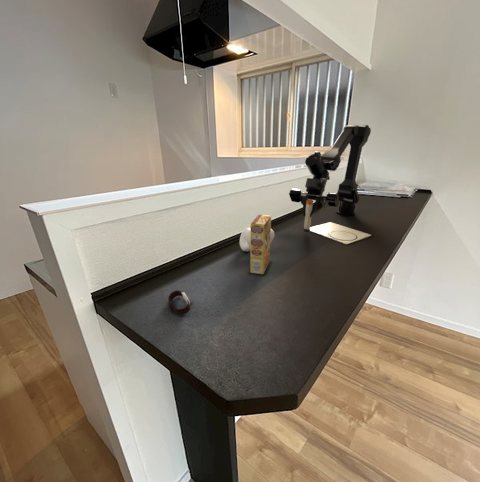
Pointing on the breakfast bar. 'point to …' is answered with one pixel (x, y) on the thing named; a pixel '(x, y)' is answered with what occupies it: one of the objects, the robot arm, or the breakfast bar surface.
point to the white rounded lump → (249, 238)
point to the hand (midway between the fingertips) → (307, 216)
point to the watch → (179, 293)
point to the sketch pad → (339, 233)
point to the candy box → (260, 243)
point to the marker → (308, 215)
